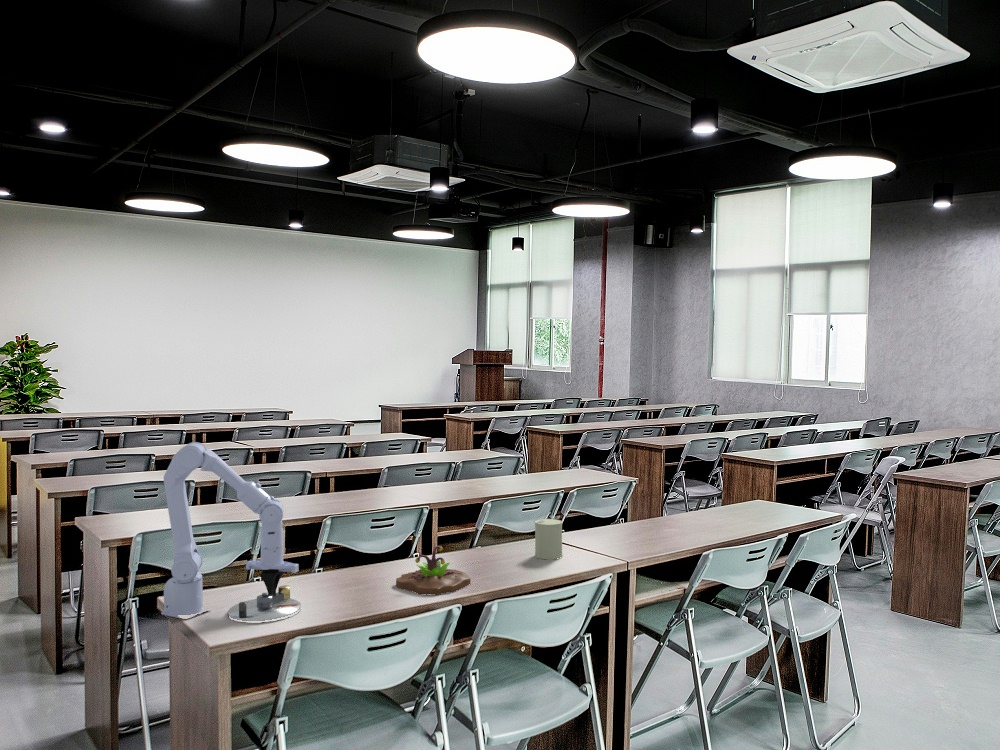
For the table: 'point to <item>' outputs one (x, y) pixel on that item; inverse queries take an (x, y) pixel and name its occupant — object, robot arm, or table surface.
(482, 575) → the table surface
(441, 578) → the plant
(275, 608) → the crank base
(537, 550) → the can
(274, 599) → the crank
